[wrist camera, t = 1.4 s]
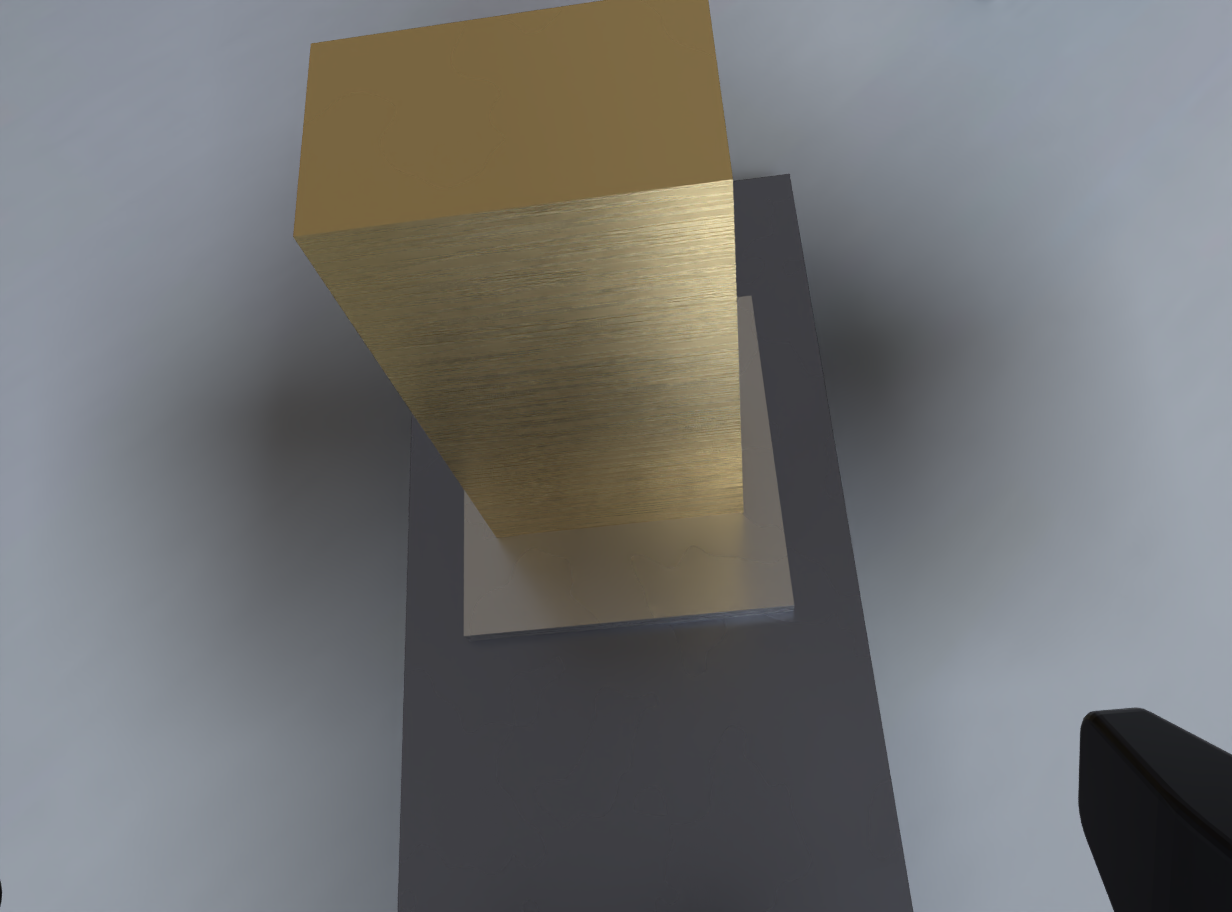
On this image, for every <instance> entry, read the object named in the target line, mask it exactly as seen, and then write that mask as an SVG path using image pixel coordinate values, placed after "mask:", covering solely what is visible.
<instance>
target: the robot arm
mask: <svg viewBox="0 0 1232 912" xmlns="http://www.w3.org/2000/svg"><path fill="white" fill-rule="evenodd" d="M1078 804H1079V813H1080V818H1081V823H1082V827H1083V831H1084V834H1085V837H1086V839H1087V842H1088V845H1089V847H1090V850H1091V852H1092V855H1093V858H1094V860H1095V863H1096V866H1097V868H1098V871H1099V873H1100V876H1101V879H1102V881H1103V884H1104V886H1105V889H1106V892H1107V894H1108V897H1109V899H1110V902H1111V905H1112V907H1113V910H1114V912H1232V754H1230V753H1228V752H1226V751H1224V750H1222V749H1220V748H1218V747H1216V746H1215V745H1213V744H1211V743H1209V742H1207V741H1205V740H1203V739H1201V738H1199V737H1197V736H1196V735H1194V734H1192V733H1190V732H1188V731H1186V730H1184V729H1182V728H1180V727H1178V726H1176V725H1175V724H1173V723H1171V722H1169V721H1167V720H1165V719H1163V718H1161V717H1159V716H1157V715H1156V714H1154V713H1152V712H1150V711H1147V710H1145V709H1142V708H1125V709H1113V710H1101V711H1092V712H1090V713H1088V714H1087V715H1086V716H1085V717H1084V719H1083V722H1082V725H1081V730H1080V759H1079V794H1078ZM1 900H2V887H1V881H0V905H1Z"/></svg>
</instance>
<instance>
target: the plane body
mask: <svg viewBox="0 0 1232 912" xmlns="http://www.w3.org/2000/svg"><path fill="white" fill-rule="evenodd" d="M733 200H734V231H735V262H736V293H737V324H738V356H739V387H740V418H741V449H742V480H743V511H744V512H739V513H729V514H720V515H710V516H700V517H690V518H680V519H670V520H661V521H651V522H641V523H631V524H621V525H611V526H602V527H592V528H582V529H572V530H562V531H552V532H543V533H533V534H523V535H513V536H503V537H496V536H495V535H494V533H493V532H492V530H491V529H490V527H489V526H488V524H487V523H486V521H485V520H484V518H483V517H482V515H481V514H480V513H479V511H478V510H477V508H476V507H475V505H474V504H473V502H472V501H471V499H470V498H469V496H468V495H467V493H466V492H465V490H464V489H463V487H462V486H461V484H460V483H459V481H458V480H457V478H456V477H455V476H454V474H453V473H452V471H451V470H450V468H449V467H448V465H447V464H446V462H445V461H444V459H443V458H442V456H441V455H440V453H439V452H438V450H437V449H436V447H435V446H434V444H433V443H432V441H431V440H430V438H429V437H428V436H427V434H426V433H425V431H424V430H423V428H422V427H421V425H420V424H419V422H418V421H417V419H416V418H415V416H414V415H413V413H412V426H411V461H410V497H409V532H408V567H407V602H406V638H405V673H404V708H403V743H402V779H401V814H400V849H399V884H398V912H913V907H912V901H911V895H910V889H909V883H908V877H907V871H906V865H905V859H904V853H903V847H902V841H901V835H900V829H899V823H898V818H897V812H896V806H895V800H894V794H893V788H892V782H891V776H890V770H889V764H888V758H887V752H886V746H885V740H884V734H883V728H882V722H881V716H880V710H879V704H878V698H877V692H876V686H875V680H874V674H873V668H872V663H871V657H870V651H869V645H868V639H867V633H866V627H865V621H864V615H863V609H862V603H861V597H860V591H859V585H858V579H857V573H856V567H855V561H854V555H853V549H852V543H851V537H850V531H849V525H848V519H847V514H846V508H845V502H844V496H843V490H842V484H841V478H840V472H839V466H838V460H837V454H836V448H835V442H834V436H833V430H832V424H831V418H830V412H829V406H828V400H827V394H826V388H825V382H824V376H823V370H822V364H821V359H820V353H819V347H818V341H817V335H816V329H815V323H814V317H813V311H812V305H811V299H810V293H809V287H808V281H807V275H806V269H805V263H804V257H803V251H802V245H801V239H800V233H799V227H798V221H797V215H796V209H795V204H794V198H793V192H792V186H791V180H790V174H784V175H776V176H769V177H761V178H753V179H746V180H738V181H733Z"/></svg>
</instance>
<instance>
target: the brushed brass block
mask: <svg viewBox="0 0 1232 912" xmlns="http://www.w3.org/2000/svg"><path fill="white" fill-rule="evenodd" d="M293 237H294V239H295V240H296V242H297V243H298V244H299V246H300V247H301V249H302V250H303V252H304V253H305V255H306V256H307V258H308V259H309V261H310V262H311V264H312V265H313V267H314V268H315V270H316V271H317V273H318V274H319V276H320V277H321V279H322V280H323V282H324V283H325V284H326V286H327V287H328V289H329V290H330V292H331V293H332V295H333V296H334V298H335V299H336V301H337V302H338V304H339V305H340V307H341V308H342V310H343V311H344V313H345V314H346V316H347V317H348V319H349V320H350V322H351V323H352V324H353V326H354V327H355V329H356V330H357V332H358V333H359V335H360V336H361V338H362V339H363V341H364V342H365V344H366V345H367V347H368V348H369V350H370V351H371V353H372V354H373V356H374V357H375V359H376V360H377V361H378V363H379V364H380V366H381V367H382V369H383V370H384V372H385V373H386V375H387V376H388V378H389V379H390V381H391V382H392V384H393V385H394V387H395V388H396V390H397V391H398V393H399V394H400V396H401V397H402V399H403V400H404V401H405V403H406V404H407V406H408V407H409V409H410V410H411V412H412V413H413V415H414V416H415V418H416V419H417V421H418V422H419V424H420V425H421V427H422V428H423V430H424V431H425V433H426V434H427V436H428V437H429V438H430V440H431V441H432V443H433V444H434V446H435V447H436V449H437V450H438V452H439V453H440V455H441V456H442V458H443V459H444V461H445V462H446V464H447V465H448V467H449V468H450V470H451V471H452V473H453V474H454V476H455V477H456V478H457V480H458V481H459V483H460V484H461V486H462V487H463V489H464V490H465V492H466V493H467V495H468V496H469V498H470V499H471V501H472V502H473V504H474V505H475V507H476V508H477V510H478V511H479V513H480V514H481V515H482V517H483V518H484V520H485V521H486V523H487V524H488V526H489V527H490V529H491V530H492V532H493V533H494V535H495V536H496V537H503V536H513V535H523V534H533V533H543V532H552V531H562V530H572V529H582V528H592V527H602V526H611V525H621V524H631V523H641V522H651V521H661V520H670V519H680V518H690V517H700V516H710V515H720V514H729V513H739V512H744V511H743V480H742V449H741V418H740V387H739V356H738V324H737V293H736V262H735V231H734V200H733V177H732V170H731V162H730V155H729V148H728V141H727V133H726V126H725V119H724V111H723V104H722V97H721V90H720V82H719V75H718V68H717V60H716V53H715V46H714V39H713V31H712V24H711V17H710V10H709V2H708V0H603V1H596V2H589V3H583V4H576V5H569V6H562V7H555V8H549V9H542V10H535V11H528V12H522V13H515V14H508V15H501V16H495V17H488V18H481V19H474V20H467V21H461V22H454V23H447V24H440V25H434V26H427V27H420V28H413V29H407V30H400V31H393V32H386V33H379V34H373V35H366V36H359V37H352V38H346V39H339V40H332V41H325V42H319V43H312V44H311V48H310V59H309V70H308V81H307V92H306V103H305V114H304V125H303V136H302V147H301V158H300V168H299V179H298V190H297V201H296V212H295V223H294V234H293Z"/></svg>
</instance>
